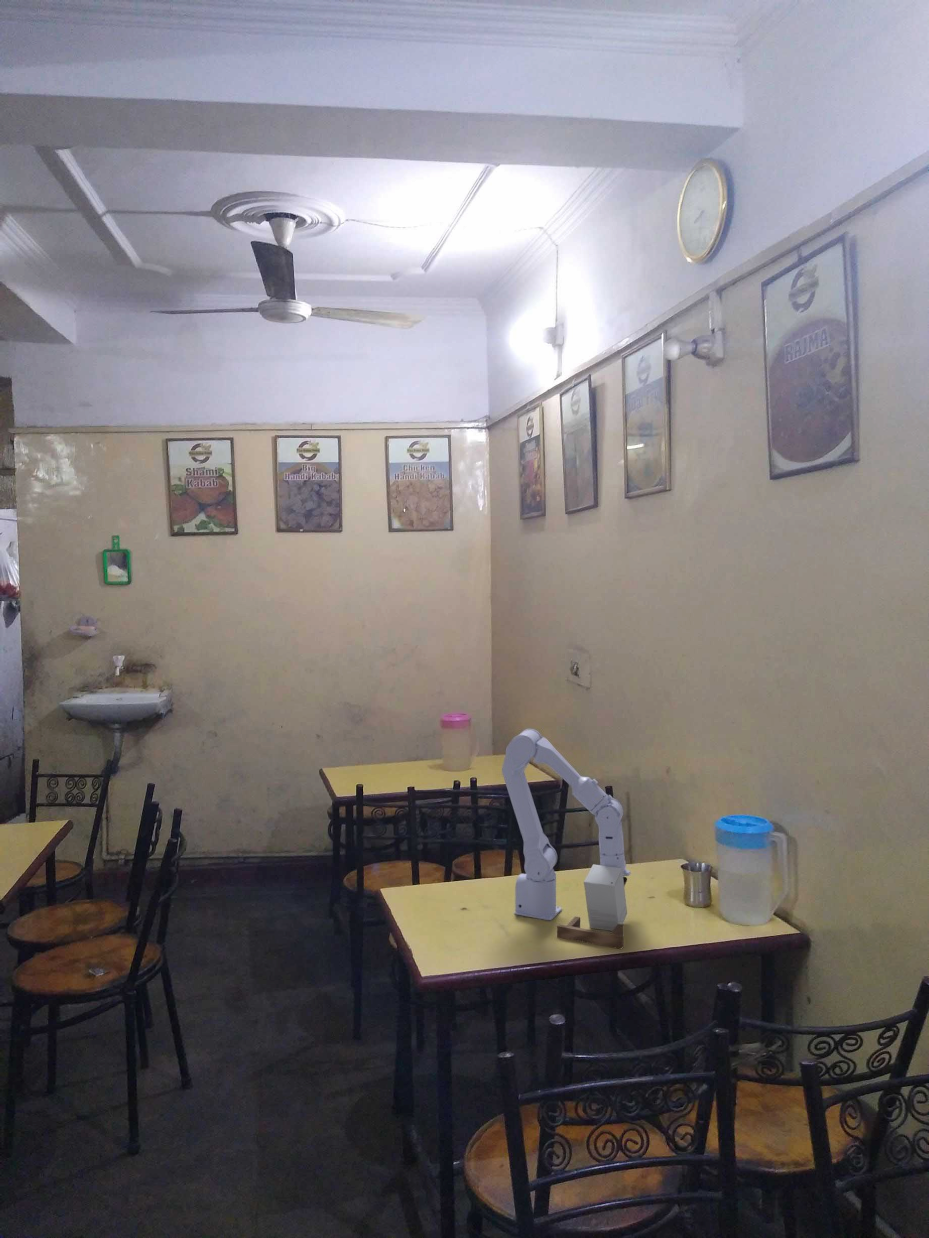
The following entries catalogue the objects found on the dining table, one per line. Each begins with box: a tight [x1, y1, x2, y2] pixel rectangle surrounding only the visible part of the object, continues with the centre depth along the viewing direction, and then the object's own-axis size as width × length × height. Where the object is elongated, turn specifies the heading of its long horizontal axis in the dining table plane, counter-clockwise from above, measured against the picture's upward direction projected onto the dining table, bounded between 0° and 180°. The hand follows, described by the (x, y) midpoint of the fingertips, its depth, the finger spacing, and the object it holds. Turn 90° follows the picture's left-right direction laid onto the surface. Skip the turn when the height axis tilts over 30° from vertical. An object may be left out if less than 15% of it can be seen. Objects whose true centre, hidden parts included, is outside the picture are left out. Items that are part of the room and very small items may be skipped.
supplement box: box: [583, 863, 628, 932], centre depth 207 cm, size 7×7×13 cm
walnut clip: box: [556, 916, 624, 949], centre depth 202 cm, size 15×7×2 cm, turn 63°
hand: (615, 908), depth 211 cm, fingers closed, pressing on supplement box
